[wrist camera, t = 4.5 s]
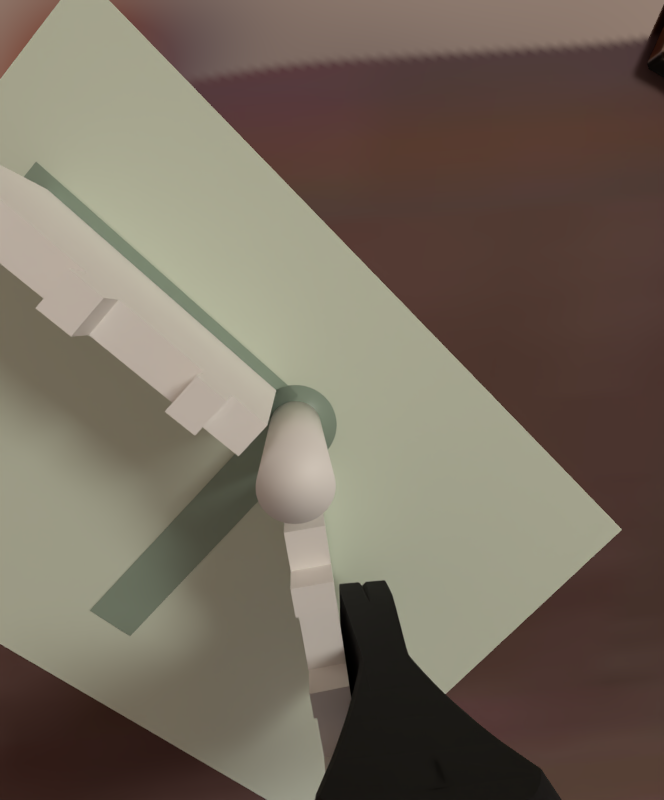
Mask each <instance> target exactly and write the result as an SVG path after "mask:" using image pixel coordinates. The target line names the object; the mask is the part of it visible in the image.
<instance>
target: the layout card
mask: <svg viewBox="0 0 664 800" xmlns="http://www.w3.org/2000/svg"><path fill="white" fill-rule="evenodd" d="M0 165H2V166H3V167H5V168H7V169H9V170H11V171H13V172H15V173H17V174H19V175H21V176H23V177H25V178H26V179H28V180H30V181H32V182H34V183H36V184H38V185H40V186H42V187H44V188H46V189H48V190H49V191H50V192H51V193H52V194H53V195H54V196H56V197H57V198H58V199H59V200H60V201H61V202H62V203H63V204H65V205H66V206H67V207H68V208H69V209H70V210H71V211H73V212H74V213H75V214H76V215H77V216H78V217H79V218H81V219H82V220H83V221H84V222H85V223H86V224H87V225H89V226H90V227H91V228H92V229H93V230H94V231H95V232H97V233H98V234H99V235H100V236H101V237H102V238H103V239H105V240H106V241H107V242H108V243H109V244H110V245H111V246H112V247H114V248H115V249H116V250H117V251H118V252H119V253H120V254H122V255H123V256H124V257H125V258H126V259H127V260H128V261H130V262H131V263H132V264H133V265H134V266H135V267H136V268H138V269H139V270H140V271H141V272H142V273H143V274H144V275H146V276H147V277H148V278H149V279H150V280H151V281H152V282H153V283H155V284H156V285H157V286H158V287H159V288H160V289H161V290H163V291H164V292H165V293H166V294H167V295H168V296H169V297H171V298H172V299H173V300H174V301H175V302H176V303H177V304H179V305H180V306H181V307H182V308H183V309H184V310H185V311H187V312H188V313H189V314H190V315H191V316H192V317H193V318H194V319H196V320H197V321H198V322H199V323H200V324H201V325H202V326H204V327H205V328H206V329H207V330H208V331H209V332H210V333H212V334H213V335H214V336H215V337H216V338H217V339H218V340H220V341H221V342H222V343H223V344H224V345H225V346H226V347H228V348H229V349H230V350H231V351H232V352H233V353H234V354H236V355H237V356H238V357H239V358H240V359H241V360H242V361H243V362H245V363H246V364H247V365H248V366H249V367H250V368H251V369H253V370H254V371H255V372H256V373H257V374H258V375H259V376H261V377H262V378H263V379H264V380H265V381H266V382H267V383H269V384H270V385H271V386H272V387H273V388H274V389H275V390H276V393H275V397H274V401H273V405H272V409H271V413H270V417H269V421H268V425H267V426H266V427H265V428H264V429H263V431H262V432H261V433H260V434H259V435H258V436H257V437H256V438H255V439H254V440H253V441H252V442H251V443H250V445H249V446H248V447H247V448H246V449H245V450H244V451H243V452H242V453H241V454H240V455H239V456H237V455H236V454H235V453H234V452H232V451H231V450H230V449H229V448H228V447H226V446H225V445H224V444H223V443H221V442H220V441H219V440H218V439H216V438H215V437H214V436H213V435H211V434H210V433H209V432H208V431H207V430H205V429H204V428H203V427H202V429H201V430H200V431H199V432H198V433H197V434H196V435H193V434H192V433H191V432H190V431H188V430H187V429H186V428H185V427H183V426H182V425H181V424H180V423H178V422H177V421H176V420H175V419H173V418H172V417H171V416H170V415H168V414H167V413H166V412H165V411H166V410H167V408H168V407H169V406H170V405H171V404H172V402H171V401H169V400H168V399H167V398H166V397H165V396H163V395H162V394H161V393H160V392H158V391H157V390H156V389H155V388H153V387H152V386H151V385H150V384H148V383H147V382H146V381H145V380H144V379H142V378H141V377H140V376H139V375H137V374H136V373H135V372H134V371H132V370H131V369H130V368H129V367H127V366H126V365H125V364H124V363H123V362H121V361H120V360H119V359H118V358H116V357H115V356H114V355H113V354H111V353H110V352H109V351H108V350H106V349H105V348H104V347H103V346H102V345H100V344H99V343H98V342H97V341H95V340H94V339H93V338H92V337H90V336H89V335H85V336H73V337H71V336H70V335H68V334H67V333H66V332H65V331H63V330H62V329H61V328H60V327H58V326H57V325H56V324H55V323H53V322H52V321H51V320H50V319H48V318H47V317H46V316H45V315H43V314H42V313H41V312H40V311H38V310H37V309H36V307H37V306H38V304H39V303H40V302H41V301H42V300H43V298H42V297H41V296H40V295H39V294H37V293H36V292H35V291H34V290H32V289H31V288H30V287H29V286H27V285H26V284H25V283H24V282H22V281H21V280H20V279H19V278H18V277H16V276H15V275H14V274H13V273H11V272H10V271H9V270H8V269H6V268H5V267H4V266H3V265H1V264H0V644H1V645H3V646H5V647H6V648H8V649H10V650H12V651H13V652H15V653H17V654H18V655H20V656H22V657H24V658H25V659H27V660H29V661H30V662H32V663H34V664H36V665H37V666H39V667H41V668H42V669H44V670H46V671H48V672H49V673H51V674H53V675H54V676H56V677H58V678H59V679H61V680H63V681H65V682H66V683H68V684H70V685H71V686H73V687H75V688H77V689H78V690H80V691H82V692H83V693H85V694H87V695H89V696H90V697H92V698H94V699H95V700H97V701H99V702H101V703H102V704H104V705H106V706H107V707H109V708H111V709H113V710H114V711H116V712H118V713H119V714H121V715H123V716H125V717H126V718H128V719H130V720H131V721H133V722H135V723H137V724H138V725H140V726H142V727H143V728H145V729H147V730H149V731H150V732H152V733H154V734H155V735H157V736H159V737H161V738H162V739H164V740H166V741H167V742H169V743H171V744H173V745H174V746H176V747H178V748H179V749H181V750H183V751H184V752H186V753H188V754H190V755H191V756H193V757H195V758H196V759H198V760H200V761H202V762H203V763H205V764H207V765H208V766H210V767H212V768H214V769H215V770H217V771H219V772H220V773H222V774H224V775H226V776H227V777H229V778H231V779H232V780H234V781H236V782H238V783H239V784H241V785H243V786H244V787H246V788H248V789H250V790H251V791H253V792H255V793H256V794H258V795H260V796H262V797H263V798H265V799H267V800H315V796H316V793H317V791H318V788H319V786H320V784H321V781H322V779H323V777H324V774H325V762H324V754H323V748H322V743H321V737H320V731H319V726H318V720H317V718H316V719H314V716H313V711H312V705H311V700H310V694H309V670H308V664H307V659H306V653H305V648H304V642H303V637H302V631H301V625H300V620H299V617H298V618H296V617H295V612H294V606H293V601H292V595H291V590H290V586H291V570H290V564H289V559H288V553H287V547H286V542H285V536H284V523H283V522H280V521H278V520H276V519H274V518H272V517H271V516H269V515H268V514H267V513H266V512H265V511H264V510H263V509H262V507H261V505H260V504H259V502H258V499H257V496H256V479H257V475H258V471H259V466H260V462H261V458H262V454H263V450H264V445H265V441H266V437H267V433H268V429H269V424H270V420H271V417H272V415H273V413H274V412H275V410H276V409H277V408H278V407H280V406H281V405H283V404H284V403H287V402H291V401H300V402H304V403H307V404H308V405H310V406H311V407H313V408H314V409H315V410H316V412H317V413H318V415H319V417H320V421H321V425H322V429H323V433H324V437H325V441H326V445H327V449H328V453H329V457H330V461H331V465H332V469H333V473H334V477H335V482H336V490H335V495H334V498H333V501H332V503H331V504H330V506H329V507H328V509H327V510H326V511H325V512H324V513H323V514H324V521H325V527H326V534H327V540H328V547H329V553H330V560H331V566H332V573H333V579H334V586H335V592H336V599H337V605H338V612H339V619H340V594H339V584H343V583H356V582H359V583H360V584H361V585H363V584H364V583H365V582H369V581H381V580H385V581H386V583H387V585H388V587H389V589H390V591H391V593H392V595H393V598H394V602H395V606H396V610H397V613H398V617H399V621H400V625H401V629H402V633H403V637H404V640H405V644H406V648H407V651H408V654H409V656H410V657H411V658H412V659H413V660H414V662H415V663H416V664H417V665H418V666H419V667H420V669H421V670H422V671H423V672H424V673H425V674H426V675H427V676H428V677H429V678H430V679H431V680H432V681H433V682H434V683H435V684H436V685H437V686H438V687H439V688H440V689H441V690H442V691H443V692H444V693H445V694H446V693H447V692H448V691H449V690H450V689H451V688H452V687H453V686H455V685H456V684H457V683H458V682H459V681H460V680H461V679H462V678H463V677H464V676H465V675H466V674H467V673H469V672H470V671H471V670H472V669H473V668H474V667H475V666H476V665H477V664H478V663H479V662H480V661H481V660H482V659H484V658H485V657H486V656H487V655H488V654H489V653H490V652H491V651H492V650H493V649H494V648H495V647H496V646H497V645H499V644H500V643H501V642H502V641H503V640H504V639H505V638H506V637H507V636H508V635H509V634H510V633H511V632H513V631H514V630H515V629H516V628H517V627H518V626H519V625H520V624H521V623H522V622H523V621H524V620H525V619H526V618H528V617H529V616H530V615H531V614H532V613H533V612H534V611H535V610H536V609H537V608H538V607H539V606H540V605H541V604H543V603H544V602H545V601H546V600H547V599H548V598H549V597H550V596H551V595H552V594H553V593H554V592H555V591H557V590H558V589H559V588H560V587H561V586H562V585H563V584H564V583H565V582H566V581H567V580H568V579H569V578H570V577H572V576H573V575H574V574H575V573H576V572H577V571H578V570H579V569H580V568H581V567H582V566H583V565H584V564H585V563H587V562H588V561H589V560H590V559H591V558H592V557H593V556H594V555H595V554H596V553H597V552H598V551H599V550H600V549H602V548H603V547H604V546H605V545H606V544H607V543H608V542H609V541H610V540H611V539H612V538H613V537H614V536H616V535H617V534H618V533H619V532H620V531H621V530H622V529H621V528H620V527H619V526H618V525H617V524H616V523H615V522H614V521H613V520H612V519H611V518H610V517H609V516H608V515H607V514H606V513H605V512H604V511H603V510H602V509H601V508H600V507H599V505H598V504H597V503H596V502H595V501H594V500H593V499H592V498H591V497H590V496H589V495H588V494H587V493H586V492H585V491H584V490H583V489H582V488H581V487H580V486H579V485H578V484H577V483H576V482H575V481H574V480H573V479H572V478H571V477H570V476H569V475H568V473H567V472H566V471H565V470H564V469H563V468H562V467H561V466H560V465H559V464H558V463H557V462H556V461H555V460H554V459H553V458H552V457H551V456H550V455H549V454H548V453H547V452H546V451H545V450H544V449H543V448H542V447H541V446H540V445H539V444H538V443H537V441H536V440H535V439H534V438H533V437H532V436H531V435H530V434H529V433H528V432H527V431H526V430H525V429H524V428H523V427H522V426H521V425H520V424H519V423H518V422H517V421H516V420H515V419H514V418H513V417H512V416H511V415H510V414H509V413H508V412H507V411H506V410H505V408H504V407H503V406H502V405H501V404H500V403H499V402H498V401H497V400H496V399H495V398H494V397H493V396H492V395H491V394H490V393H489V392H488V391H487V390H486V389H485V388H484V387H483V386H482V385H481V384H480V383H479V382H478V381H477V380H476V379H475V378H474V376H473V375H472V374H471V373H470V372H469V371H468V370H467V369H466V368H465V367H464V366H463V365H462V364H461V363H460V362H459V361H458V360H457V359H456V358H455V357H454V356H453V355H452V354H451V353H450V352H449V351H448V350H447V349H446V348H445V347H444V346H443V345H442V343H441V342H440V341H439V340H438V339H437V338H436V337H435V336H434V335H433V334H432V333H431V332H430V331H429V330H428V329H427V328H426V327H425V326H424V325H423V324H422V323H421V322H420V321H419V320H418V319H417V318H416V317H415V316H414V315H413V314H412V313H411V311H410V310H409V309H408V308H407V307H406V306H405V305H404V304H403V303H402V302H401V301H400V300H399V299H398V298H397V297H396V296H395V295H394V294H393V293H392V292H391V291H390V290H389V289H388V288H387V287H386V286H385V285H384V284H383V283H382V282H381V281H380V279H379V278H378V277H377V276H376V275H375V274H374V273H373V272H372V271H371V270H370V269H369V268H368V267H367V266H366V265H365V264H364V263H363V262H362V261H361V260H360V259H359V258H358V257H357V256H356V255H355V254H354V253H353V252H352V251H351V250H350V249H349V248H348V246H347V245H346V244H345V243H344V242H343V241H342V240H341V239H340V238H339V237H338V236H337V235H336V234H335V233H334V232H333V231H332V230H331V229H330V228H329V227H328V226H327V225H326V224H325V223H324V222H323V221H322V220H321V219H320V218H319V217H318V216H317V214H316V213H315V212H314V211H313V210H312V209H311V208H310V207H309V206H308V205H307V204H306V203H305V202H304V201H303V200H302V199H301V198H300V197H299V196H298V195H297V194H296V193H295V192H294V191H293V190H292V189H291V188H290V187H289V186H288V185H287V184H286V183H285V181H284V180H283V179H282V178H281V177H280V176H279V175H278V174H277V173H276V172H275V171H274V170H273V169H272V168H271V167H270V166H269V165H268V164H267V163H266V162H265V161H264V160H263V159H262V158H261V157H260V156H259V155H258V154H257V153H256V152H255V151H254V149H253V148H252V147H251V146H250V145H249V144H248V143H247V142H246V141H245V140H244V139H243V138H242V137H241V136H240V135H239V134H238V133H237V132H236V131H235V130H234V129H233V128H232V127H231V126H230V125H229V124H228V123H227V122H226V121H225V120H224V119H223V117H222V116H221V115H220V114H219V113H218V112H217V111H216V110H215V109H214V108H213V107H212V106H211V105H210V104H209V103H208V102H207V101H206V100H205V99H204V98H203V97H202V96H201V95H200V94H199V93H198V92H197V91H196V90H195V89H194V88H193V87H192V86H191V84H190V83H189V82H188V81H187V80H186V79H185V78H184V77H183V76H182V75H181V74H180V73H179V72H178V71H177V70H176V69H175V68H174V67H173V66H172V65H171V64H170V63H169V62H168V61H167V60H166V59H165V58H164V57H163V56H162V55H161V54H160V53H159V52H158V51H157V49H155V47H154V46H153V45H152V44H151V43H150V42H149V41H148V40H147V39H146V38H145V37H144V36H143V35H142V34H141V33H140V32H139V31H138V30H137V29H136V28H135V27H134V26H133V25H132V24H131V23H130V22H129V21H128V20H127V18H126V17H125V16H124V15H123V14H122V13H121V12H120V11H119V10H118V9H117V8H116V7H115V6H114V5H113V4H112V3H111V2H110V1H109V0H60V2H59V3H58V4H57V6H56V7H55V8H54V10H53V11H52V12H51V13H50V15H49V16H48V17H47V19H46V20H45V21H44V23H43V24H42V25H41V27H40V28H39V29H38V30H37V32H36V33H35V34H34V36H33V37H32V38H31V40H30V41H29V42H28V44H27V45H26V46H25V48H24V49H23V50H22V52H21V53H20V54H19V55H18V57H17V58H16V59H15V61H14V62H13V63H12V65H11V66H10V67H9V68H8V70H7V71H6V72H5V74H4V75H3V76H2V78H1V79H0Z"/></svg>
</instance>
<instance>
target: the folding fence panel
mask: <svg viewBox="0 0 664 800" xmlns="http://www.w3.org/2000/svg"><path fill="white" fill-rule="evenodd" d="M284 536H285V542H286V547H287V553H288V559H289V564H290V570H291V586H290V590H291V595H292V601H293V606H294V612H295V617H296V618H298V617H299V620H300V625H301V631H302V637H303V642H304V648H305V653H306V659H307V664H308V670H309V694H310V700H311V705H312V711H313V716H314V719H316V718H317V720H318V726H319V731H320V737H321V743H322V748H323V754H324V762H325V772H326V770H327V767H328V765H329V763H330V760H331V758H332V755H333V753H334V750H335V747H336V744H337V741H338V739H339V736H340V733H341V730H342V727H343V725H344V722H345V718H346V715H347V712H348V709H349V705H350V701H351V692H350V686H349V679H348V673H347V666H346V659H345V653H344V646H343V639H342V633H341V626H340V619H339V612H338V605H337V599H336V592H335V586H334V579H333V573H332V566H331V560H330V553H329V547H328V540H327V534H326V527H325V521H324V514H322V515H320V516H319V517H318V518H316V519H314V520H312V521H309V522H306V523H301V524H288V523H284Z"/></svg>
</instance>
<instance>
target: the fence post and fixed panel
mask: <svg viewBox="0 0 664 800" xmlns="http://www.w3.org/2000/svg"><path fill="white" fill-rule="evenodd" d="M0 264H1V265H3V266H4V267H5V268H6V269H8V270H9V271H10V272H11V273H13V274H14V275H15V276H16V277H18V278H19V279H20V280H21V281H22V282H24V283H25V284H26V285H27V286H29V287H30V288H31V289H32V290H34V291H35V292H36V293H37V294H39V295H40V296H41V297H42V298H43V300H42V301H41V302H40V303H39V304H38V306H37V307H36V309H37V310H38V311H40V312H41V313H42V314H43V315H45V316H46V317H47V318H48V319H50V320H51V321H52V322H53V323H55V324H56V325H57V326H58V327H60V328H61V329H62V330H63V331H65V332H66V333H67V334H68V335H70V336H71V337H73V336H85V335H89V336H90V337H92V338H93V339H94V340H95V341H97V342H98V343H99V344H100V345H102V346H103V347H104V348H105V349H106V350H108V351H109V352H110V353H111V354H113V355H114V356H115V357H116V358H118V359H119V360H120V361H121V362H123V363H124V364H125V365H126V366H127V367H129V368H130V369H131V370H132V371H134V372H135V373H136V374H137V375H139V376H140V377H141V378H142V379H144V380H145V381H146V382H147V383H148V384H150V385H151V386H152V387H153V388H155V389H156V390H157V391H158V392H160V393H161V394H162V395H163V396H165V397H166V398H167V399H168V400H169V401H171V402H172V404H171V405H170V406H169V407H168V408H167V410H166V411H165V412H166V413H167V414H168V415H170V416H171V417H172V418H173V419H175V420H176V421H177V422H178V423H180V424H181V425H182V426H183V427H185V428H186V429H187V430H188V431H190V432H191V433H192V434H193V435H196V434H197V433H198V432H199V431H200V430H201V429H202V427H203V428H204V429H205V430H207V431H208V432H209V433H210V434H211V435H213V436H214V437H215V438H216V439H218V440H219V441H220V442H221V443H223V444H224V445H225V446H226V447H228V448H229V449H230V450H231V451H232V452H234V453H235V454H236V455H237V456H239V455H240V454H241V453H242V452H243V451H244V450H245V449H246V448H247V447H248V446H249V445H250V443H251V442H252V441H253V440H254V439H255V438H256V437H257V436H258V435H259V434H260V433H261V432H262V431H263V429H264V428H265V427H266V426H267V425H268V421H269V417H270V413H271V409H272V405H273V401H274V397H275V393H276V390H275V389H274V388H273V387H272V386H271V385H270V384H269V383H267V382H266V381H265V380H264V379H263V378H262V377H261V376H259V375H258V374H257V373H256V372H255V371H254V370H253V369H251V368H250V367H249V366H248V365H247V364H246V363H245V362H243V361H242V360H241V359H240V358H239V357H238V356H237V355H236V354H234V353H233V352H232V351H231V350H230V349H229V348H228V347H226V346H225V345H224V344H223V343H222V342H221V341H220V340H218V339H217V338H216V337H215V336H214V335H213V334H212V333H210V332H209V331H208V330H207V329H206V328H205V327H204V326H202V325H201V324H200V323H199V322H198V321H197V320H196V319H194V318H193V317H192V316H191V315H190V314H189V313H188V312H187V311H185V310H184V309H183V308H182V307H181V306H180V305H179V304H177V303H176V302H175V301H174V300H173V299H172V298H171V297H169V296H168V295H167V294H166V293H165V292H164V291H163V290H161V289H160V288H159V287H158V286H157V285H156V284H155V283H153V282H152V281H151V280H150V279H149V278H148V277H147V276H146V275H144V274H143V273H142V272H141V271H140V270H139V269H138V268H136V267H135V266H134V265H133V264H132V263H131V262H130V261H128V260H127V259H126V258H125V257H124V256H123V255H122V254H120V253H119V252H118V251H117V250H116V249H115V248H114V247H112V246H111V245H110V244H109V243H108V242H107V241H106V240H105V239H103V238H102V237H101V236H100V235H99V234H98V233H97V232H95V231H94V230H93V229H92V228H91V227H90V226H89V225H87V224H86V223H85V222H84V221H83V220H82V219H81V218H79V217H78V216H77V215H76V214H75V213H74V212H73V211H71V210H70V209H69V208H68V207H67V206H66V205H65V204H63V203H62V202H61V201H60V200H59V199H58V198H57V197H56V196H54V195H53V194H52V193H51V192H50V191H49V190H48V189H46V188H44V187H42V186H40V185H38V184H36V183H34V182H32V181H30V180H28V179H26V178H25V177H23V176H21V175H19V174H17V173H15V172H13V171H11V170H9V169H7V168H5V167H3V166H2V165H0ZM335 490H336V482H335V477H334V473H333V469H332V465H331V461H330V457H329V453H328V449H327V445H326V441H325V437H324V433H323V429H322V425H321V421H320V417H319V415H318V413H317V412H316V410H315V409H314V408H313V407H311V406H310V405H308V404H307V403H304V402H300V401H291V402H287V403H284V404H283V405H281V406H280V407H278V408H277V409H276V410H275V412H274V413H273V415H272V417H271V420H270V424H269V429H268V433H267V437H266V441H265V445H264V450H263V454H262V458H261V462H260V466H259V471H258V475H257V479H256V496H257V499H258V502H259V504H260V505H261V507H262V509H263V510H264V511H265V512H266V513H267V514H268V515H269V516H271V517H272V518H274V519H276V520H278V521H280V522H283V523H288V524H301V523H306V522H309V521H312V520H314V519H316V518H318V517H319V516H320V515H322V514H323V513H324V512H325V511H326V510H327V509H328V507H329V506H330V504H331V503H332V501H333V498H334V495H335Z"/></svg>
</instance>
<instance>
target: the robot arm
mask: <svg viewBox="0 0 664 800" xmlns="http://www.w3.org/2000/svg"><path fill="white" fill-rule="evenodd" d="M339 594H340V626H341V633H342V639H343V646H344V653H345V659H346V666H347V673H348V679H349V686H350V692H351V701H350V705H349V709H348V712H347V715H346V718H345V722H344V725H343V727H342V730H341V733H340V736H339V739H338V741H337V744H336V747H335V750H334V753H333V755H332V758H331V760H330V763H329V765H328V767H327V770H326V772H325V774H324V777H323V779H322V781H321V784H320V786H319V788H318V791H317V793H316V796H315V800H561V798H560V797H559V795H558V794H557V792H556V791H555V789H554V788H553V786H552V785H551V783H550V782H549V780H548V779H547V777H546V776H545V774H544V773H543V771H542V770H541V769H540V768H539V767H537V766H536V765H534V764H533V763H532V762H530V761H529V760H527V759H526V758H524V757H523V756H521V755H520V754H518V753H517V752H516V751H514V750H513V749H511V748H510V747H508V746H507V745H505V744H504V743H503V742H501V741H500V740H498V739H497V738H496V737H495V736H493V735H492V734H491V733H489V732H488V731H487V730H486V729H484V728H483V727H482V726H481V725H479V724H478V723H477V722H476V721H475V720H474V719H472V718H471V717H470V716H469V715H468V714H467V713H466V712H464V711H463V710H462V709H461V708H460V707H459V706H458V705H457V704H455V703H454V702H453V701H452V700H451V699H450V698H449V697H448V696H447V695H446V694H445V693H444V692H443V691H442V690H441V689H440V688H439V687H438V686H437V685H436V684H435V683H434V682H433V681H432V680H431V679H430V678H429V677H428V676H427V675H426V674H425V673H424V672H423V671H422V670H421V669H420V667H419V666H418V665H417V664H416V663H415V662H414V660H413V659H412V658H411V657H410V656H409V654H408V651H407V648H406V644H405V640H404V637H403V633H402V629H401V625H400V621H399V617H398V613H397V610H396V606H395V602H394V598H393V595H392V593H391V591H390V589H389V587H388V585H387V583H386V581H385V580H381V581H369V582H365V583H364V584H363V585H361V584H360V583H359V582H356V583H343V584H339Z"/></svg>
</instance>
